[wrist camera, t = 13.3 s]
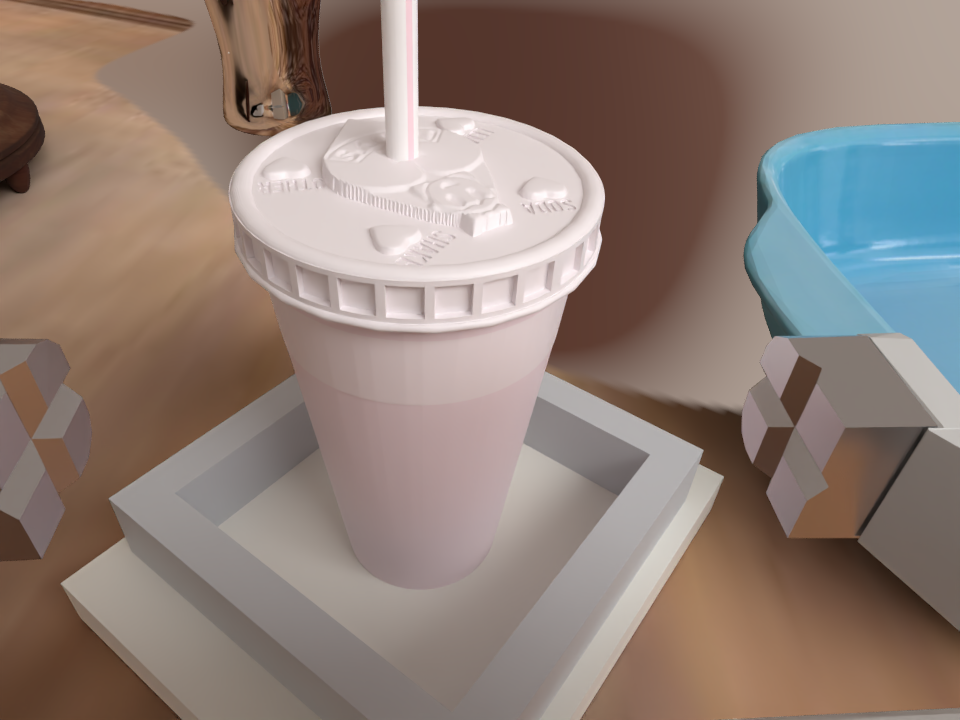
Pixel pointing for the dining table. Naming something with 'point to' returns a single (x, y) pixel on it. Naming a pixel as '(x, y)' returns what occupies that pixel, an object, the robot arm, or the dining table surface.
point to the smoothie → (417, 302)
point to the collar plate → (374, 603)
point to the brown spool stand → (18, 137)
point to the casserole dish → (862, 236)
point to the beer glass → (270, 63)
